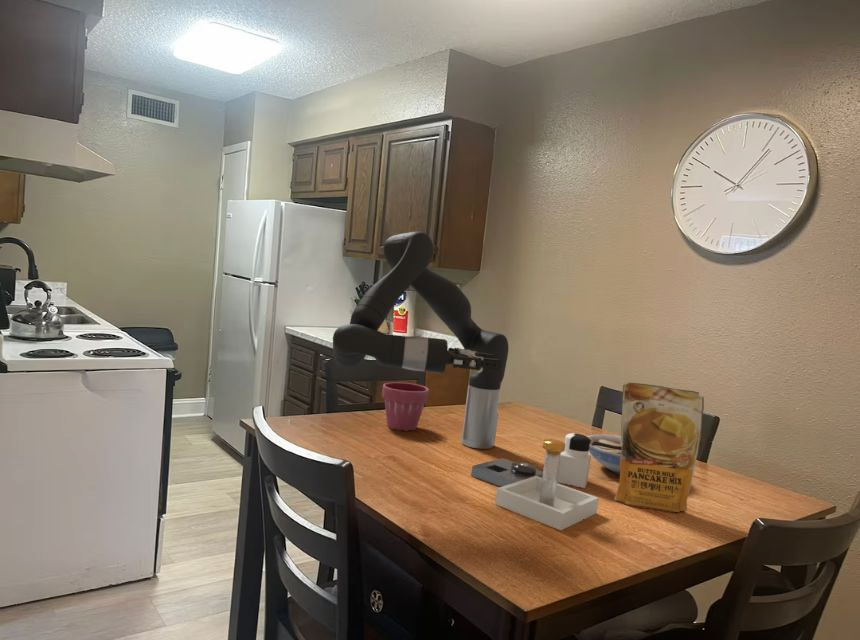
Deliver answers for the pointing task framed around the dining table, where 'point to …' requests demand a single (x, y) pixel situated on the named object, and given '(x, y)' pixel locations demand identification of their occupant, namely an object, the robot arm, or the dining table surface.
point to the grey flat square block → (504, 471)
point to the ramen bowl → (606, 451)
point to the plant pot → (404, 404)
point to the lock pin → (550, 470)
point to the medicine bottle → (575, 461)
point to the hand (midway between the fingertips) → (496, 362)
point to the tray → (564, 513)
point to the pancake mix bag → (658, 445)
